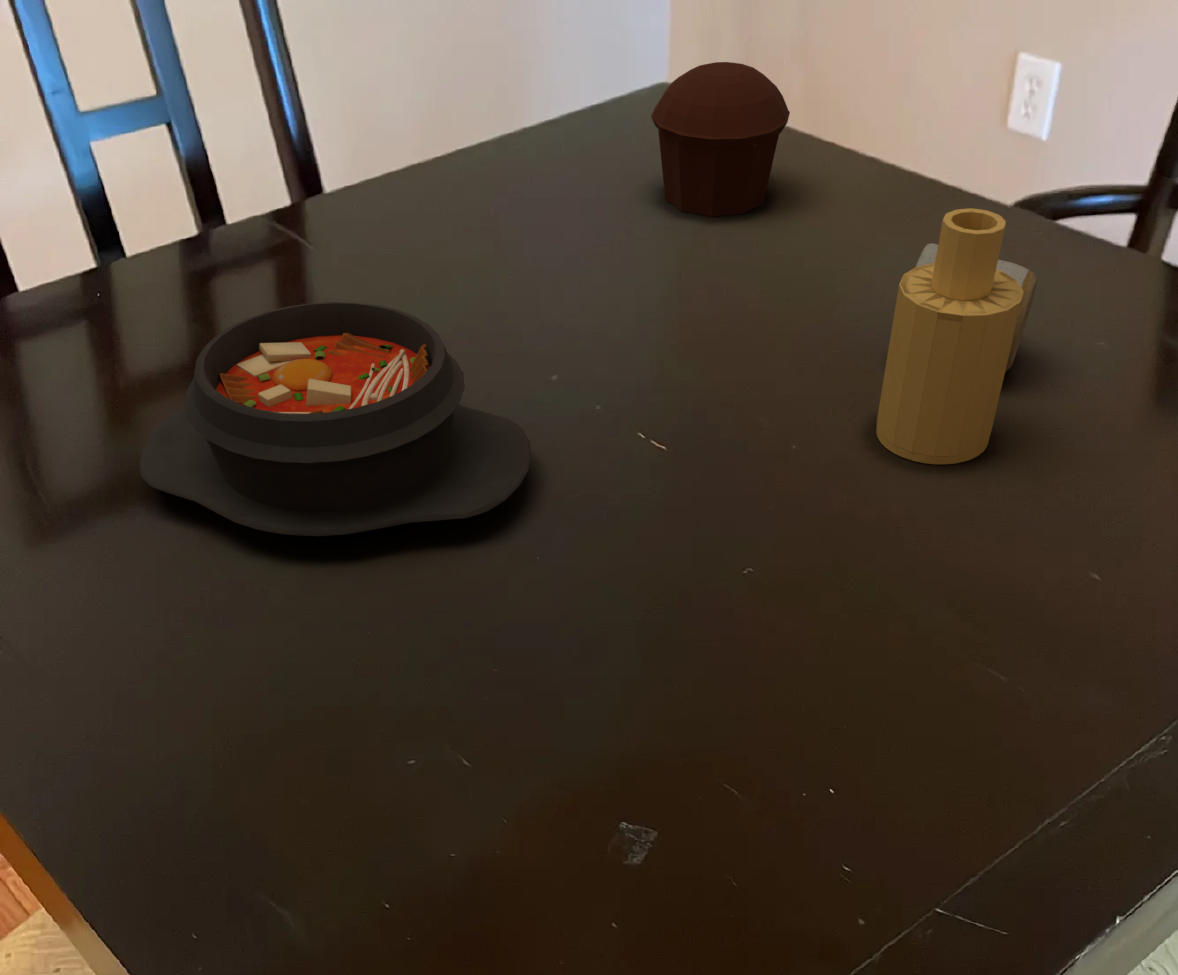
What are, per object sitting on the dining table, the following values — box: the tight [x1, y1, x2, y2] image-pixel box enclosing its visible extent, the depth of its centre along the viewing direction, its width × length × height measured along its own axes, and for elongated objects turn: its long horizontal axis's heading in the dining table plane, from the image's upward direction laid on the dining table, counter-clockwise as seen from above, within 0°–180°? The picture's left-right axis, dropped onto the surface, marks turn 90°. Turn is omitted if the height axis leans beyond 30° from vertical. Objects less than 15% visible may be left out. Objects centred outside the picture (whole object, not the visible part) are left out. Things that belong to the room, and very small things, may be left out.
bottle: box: [875, 208, 1024, 465], centre depth 84 cm, size 7×7×14 cm
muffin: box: [650, 61, 791, 218], centre depth 114 cm, size 12×11×10 cm
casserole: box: [138, 301, 532, 537], centre depth 83 cm, size 25×19×8 cm
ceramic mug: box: [915, 242, 1038, 373], centre depth 95 cm, size 11×8×8 cm
